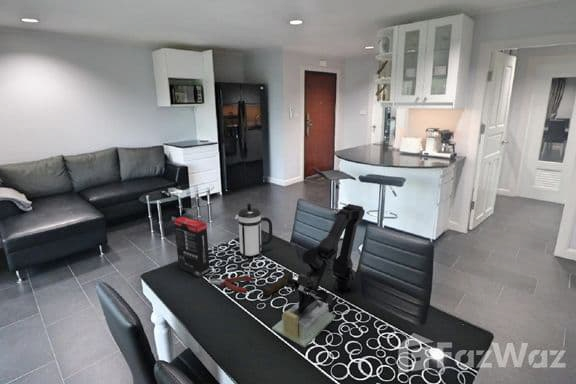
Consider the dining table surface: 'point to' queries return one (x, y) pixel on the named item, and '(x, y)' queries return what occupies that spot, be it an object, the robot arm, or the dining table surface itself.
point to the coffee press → (251, 230)
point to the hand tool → (277, 284)
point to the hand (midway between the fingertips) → (299, 312)
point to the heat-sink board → (304, 340)
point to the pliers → (231, 286)
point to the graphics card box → (192, 246)
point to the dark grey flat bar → (306, 310)
